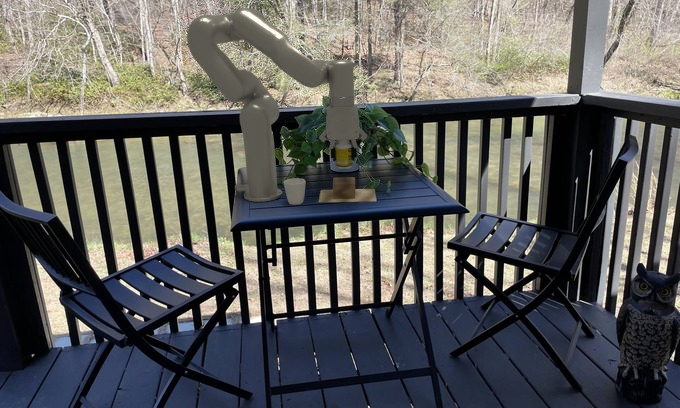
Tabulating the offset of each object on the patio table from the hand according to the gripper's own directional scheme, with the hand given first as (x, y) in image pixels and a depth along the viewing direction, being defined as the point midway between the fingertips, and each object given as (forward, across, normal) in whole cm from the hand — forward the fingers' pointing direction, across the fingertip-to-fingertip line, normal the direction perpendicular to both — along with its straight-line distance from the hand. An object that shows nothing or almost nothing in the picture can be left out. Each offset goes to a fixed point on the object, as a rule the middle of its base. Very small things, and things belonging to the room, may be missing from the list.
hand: (343, 159), depth 166 cm
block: (+12, 0, 0) cm, 12 cm away
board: (+13, +1, 0) cm, 13 cm away
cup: (+13, -15, -5) cm, 21 cm away
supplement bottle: (+3, 0, 0) cm, 3 cm away
